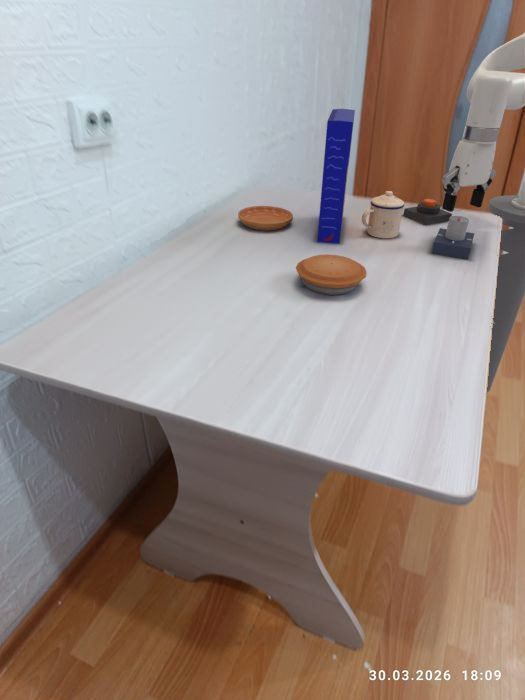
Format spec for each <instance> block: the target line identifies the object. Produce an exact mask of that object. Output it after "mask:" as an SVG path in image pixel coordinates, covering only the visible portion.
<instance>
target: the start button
mask: <svg viewBox="0 0 525 700" xmlns="http://www.w3.org/2000/svg"><path fill="white" fill-rule="evenodd" d="M423 202H424V203H423V206H426V207H435V205H436V204H437V200H435V199H432V198H425V199H423Z"/></svg>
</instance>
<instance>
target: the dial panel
mask: <svg viewBox="0 0 525 700" xmlns="http://www.w3.org/2000/svg"><path fill="white" fill-rule="evenodd" d="M446 231H447V228H441V227H440V228H439V229H438V232H437V234H436V236H435V238H434V241H433V244H432V249H431V254H433V255H440V256H446V257H451V258H457V259H463V260H469V257H470V254H471V250H472V246H473V241H474V237H475V232H469V231H466V235H465V239H464V240H461V241H455V240H450V239H448V238H446V237H445V235H446Z"/></svg>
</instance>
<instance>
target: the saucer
mask: <svg viewBox="0 0 525 700" xmlns="http://www.w3.org/2000/svg"><path fill="white" fill-rule="evenodd" d="M237 218H238V220H239V221H240V222H241V223H242V224H243V225H244V226H246V227H247V228H250V229H253V230H256V231H277V230H281V229H284V228H285V227H286V226H288V225H289V224H290V223H291V222H292V221H293V218H294V214H293V212H291V211H290V210H288V209H286V208H282V207H280V206H279V207H278V206H272V205H253V206H248V207H244V208H242V209H240V210H239V211H238V213H237Z"/></svg>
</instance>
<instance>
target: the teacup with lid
mask: <svg viewBox="0 0 525 700" xmlns="http://www.w3.org/2000/svg"><path fill="white" fill-rule="evenodd" d="M404 207H405V202H404V200H403V199H401V198H398V197H397V196H396V195H394V193H393V191H391V190H386V191H385V192H384V194H381V195H379V196H375V197H372V199H371V200H370V208H369V209H367V210H365V211H364V212H363V214H362V217H361V223H362V225H363V226H364V227H365V228H367V234H368V235H370V236H371V237H374V238H379V239H393V238H396V237H397V236H398V235H399V234H400V233H399V232H400V227H401V222H402V221H401V220H402V216H403V212H404ZM368 215H369V217H368V223H367V216H368Z"/></svg>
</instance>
